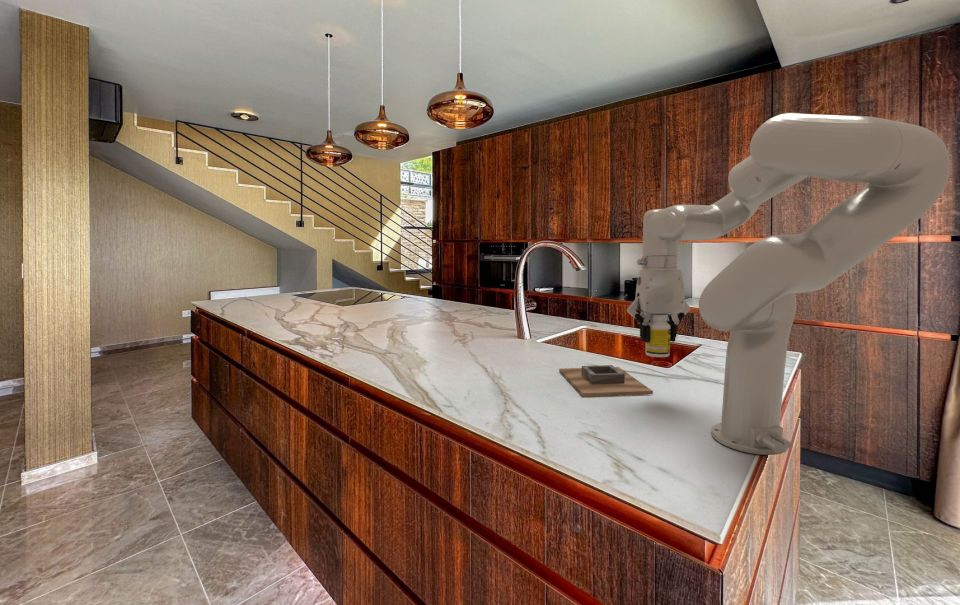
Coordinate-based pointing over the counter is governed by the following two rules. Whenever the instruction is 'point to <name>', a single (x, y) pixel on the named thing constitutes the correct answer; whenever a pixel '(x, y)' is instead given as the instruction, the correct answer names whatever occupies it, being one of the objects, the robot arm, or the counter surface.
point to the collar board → (603, 381)
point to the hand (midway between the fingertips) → (658, 340)
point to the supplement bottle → (659, 336)
